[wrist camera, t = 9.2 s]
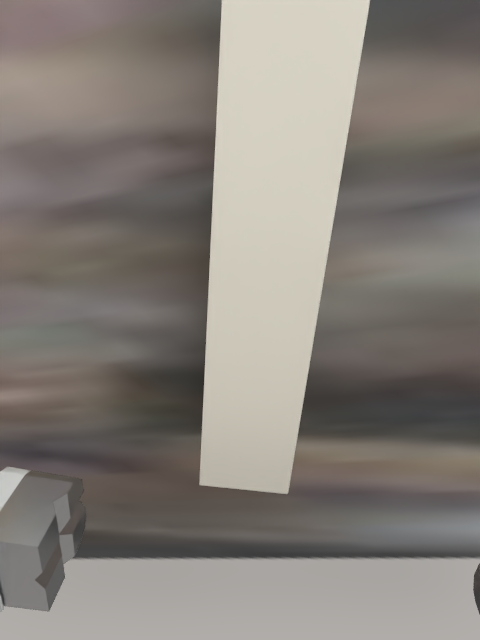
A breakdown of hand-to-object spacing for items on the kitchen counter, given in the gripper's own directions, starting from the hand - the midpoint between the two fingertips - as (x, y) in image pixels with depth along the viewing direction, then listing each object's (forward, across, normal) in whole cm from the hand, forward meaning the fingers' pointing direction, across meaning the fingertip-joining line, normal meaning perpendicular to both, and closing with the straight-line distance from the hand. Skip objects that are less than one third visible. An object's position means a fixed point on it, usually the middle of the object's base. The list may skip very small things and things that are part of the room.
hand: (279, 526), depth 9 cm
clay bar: (+11, +1, -2) cm, 11 cm away
